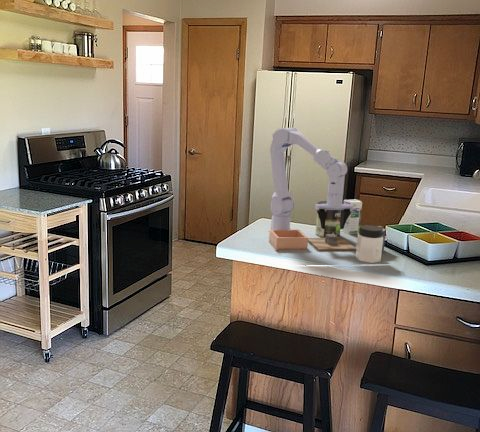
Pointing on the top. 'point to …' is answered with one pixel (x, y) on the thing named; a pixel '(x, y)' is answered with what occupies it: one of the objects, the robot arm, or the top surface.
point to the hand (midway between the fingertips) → (332, 228)
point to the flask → (383, 238)
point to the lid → (331, 243)
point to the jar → (369, 243)
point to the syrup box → (353, 217)
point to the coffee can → (329, 223)
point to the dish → (287, 239)
